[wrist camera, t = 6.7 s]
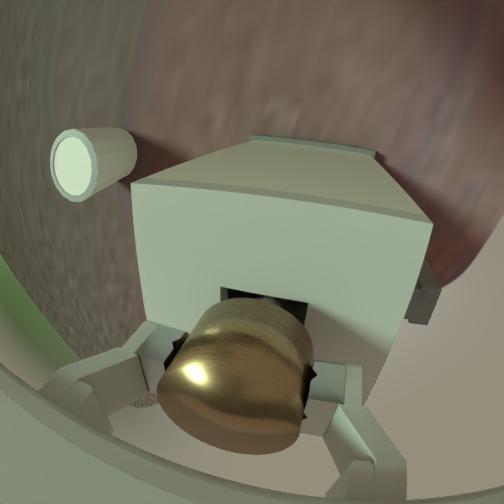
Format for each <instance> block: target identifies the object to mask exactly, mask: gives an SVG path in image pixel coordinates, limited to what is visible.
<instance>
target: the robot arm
mask: <svg viewBox="0 0 504 504" xmlns="http://www.w3.org/2000/svg"><path fill="white" fill-rule="evenodd" d="M188 336H189V333H188V332H186V331H183V330H179V329H176V328H173V327H169V326H166V325H163V324H159V323H156V322H153V321H150V320H147V321H145V322H143V324H142V325H141V326H140V327H139V328H138V329H137V331H136V332H135V333H134V334H133V335H132V336H131V337H130V339H129V340H128V341H127V342H126V343H125V344H124V346H123V347H122V348H118V347H117V348H114V349H112V350H109V351H106V352H103V353H101V354H98V355H95V356H92V357H90V358H87V359H84V360H81V361H79V362H76V363H73V364H70V365H67V366H64V367H61V368H59V369H58V371H57V372H56V373H55V374H54V375H53V376H52V377H51V378H50V379H49V380H48V381H47V382H46V383H45V385H44V386H43V387H42V388H41V389H40V390H39V391H37V390H35V389H34V388H32V387H31V386H30V385H28V384H27V383H26V382H24V381H23V380H22V379H20V378H19V377H18V376H16V375H15V374H14V373H13V372H11V371H10V370H9V369H7V368H6V367H5V366H4V365H3V364H1V363H0V504H504V486H500V487H495V488H491V489H487V490H482V491H477V492H472V493H466V494H460V495H453V496H446V497H438V498H427V499H414V500H406V497H407V494H406V493H407V468H406V460H405V459H404V458H403V456H402V455H401V454H400V452H399V451H398V449H397V448H396V447H395V445H394V444H393V442H392V441H391V440H390V438H389V437H388V436H387V434H386V433H385V431H384V430H383V429H382V427H381V426H380V425H379V423H378V422H377V421H376V419H375V418H374V416H373V415H372V414H371V412H370V411H369V409H368V408H367V407H362V403H363V384H362V367H361V366H359V365H351V364H343V363H335V362H328V361H322V360H315V359H314V360H313V363H312V367H311V373H310V379H309V386H308V391H307V396H306V402H305V407H304V413H303V419H302V424H301V429H300V433H305V434H310V435H316V436H322V437H323V439H324V441H325V443H326V445H327V447H328V450H329V452H330V454H331V456H332V458H333V460H334V462H335V465H336V467H337V469H338V471H339V473H340V475H341V476H340V477H339V478H338V479H337V481H336V482H335V483H334V484H333V485H332V486H331V488H330V489H329V490H328V491H327V492H326V496H325V498H321V497H314V496H306V495H298V494H292V493H286V492H280V491H274V490H270V489H264V488H260V487H255V486H251V485H247V484H242V483H238V482H234V481H231V480H227V479H223V478H219V477H216V476H213V475H210V474H206V473H203V472H200V471H197V470H194V469H191V468H188V467H185V466H182V465H179V464H177V463H174V462H172V461H169V460H166V459H164V458H161V457H159V456H156V455H154V454H151V453H149V452H146V451H144V450H142V449H140V448H137V447H135V446H133V445H131V444H129V443H127V442H124V441H122V440H120V439H118V438H116V437H114V436H112V435H111V434H112V433H113V428H112V426H111V424H110V422H109V420H108V418H107V416H109V415H111V414H113V413H114V412H116V411H118V410H120V409H122V408H124V407H125V406H127V405H129V404H131V403H133V402H134V401H136V400H138V399H140V398H141V397H143V396H145V395H146V394H148V392H150V393H153V394H156V395H157V385H158V382H159V380H160V379H161V377H162V376H163V374H164V373H165V371H166V370H167V368H168V367H169V365H170V363H171V362H172V360H173V359H174V357H175V356H176V354H177V353H178V351H179V350H180V348H181V347H182V345H183V344H184V342H185V341H186V339H187V338H188Z"/></svg>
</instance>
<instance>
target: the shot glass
mask: <svg viewBox="0 0 504 504" xmlns="http://www.w3.org/2000/svg"><path fill="white" fill-rule="evenodd" d="M136 160H137V146H136V144H135V141H134V139H133V137H132V136H131V135H130V134H129V133H128V131H126V130H124V129H121V128H84V129H71V130H65V131H64V132H62V133H61V134H60V135H59V136H58V137H57V138H56V140H55V142H54V144H53V147H52V150H51V156H50V167H51V175H52V178H53V180H54V183H55V186H56V187H57V189H58V190H59V191H60V193H61V194H62V195H63V196H64V197H65V198H67V199H68V200H70V201H72V202H82V201H83V200H85V199H87V198H88V197H90V196H92V195H93V194H95V193H97V192H98V191H100V190H102V189H104V188H105V187H107V186H109V185H111V184H112V183H114V182H116V181H118V180H120V179H121V178H123V177H125V176H127V175H129V174H130V173H131V171H132V170H133V169H134V167H135V164H136Z"/></svg>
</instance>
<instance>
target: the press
mask: <svg viewBox="0 0 504 504" xmlns="http://www.w3.org/2000/svg"><path fill="white" fill-rule="evenodd" d="M375 152H376V151H375V150H372V149H366V148H361V147H355V146H349V145H342V144H336V143H329V142H322V141H314V140H306V139H297V138H288V137H278V136H267V135H254V134H252V135H249V142H246V143H242V144H239V145H236V146H232V147H229V148H226V149H223V150H220V151H217V152H214V153H211V154H208V155H205V156H202V157H199V158H196V159H193V160H190V161H187V162H184V163H182V164H179V165H176V166H173V167H171V168H168V169H165V170H163V171H160V172H158V173H155V174H152V175H150V176H147V177H145V178H142V179H140V180H137V181H135V182H132V183H131V196H132V209H133V221H134V232H135V241H136V250H137V258H138V266H139V274H140V281H141V287H142V294H143V300H144V306H145V312H146V318H147V320H150V321H153V322H156V323H159V324H163V325H166V326H169V327H173V328H176V329H179V330H183V331H186V332H188V333H189V334H190V333H191V331H192V330H193V328H194V327H195V325H196V324H197V322H198V321H199V319H200V318H201V316H202V315H203V313H204V312H205V311H206V310H207V309H208V308H210V307H211V306H212V305H214V304H216V303H218V302H221V301H223V300H227V299H232V298H252V299H256V297H257V295H258V294H262V295H267V296H272V297H278V298H283V299H287V300H286V304H285V307H284V310H286V311H287V312H289V313H290V314H292V315H293V316H294V317H296V318H297V319H298V320H299V321H300V322H301V323H302V325H303V326H304V327H305V328H306V330H307V332H308V333H309V335H310V337H311V340H312V343H313V349H314V355H313V360H314V359H315V360H322V361H328V362H335V363H343V364H351V365H359V366H361V367H362V384H363V403H362V407H363V405H364V403H365V402H366V400H367V398H368V396H369V394H370V392H371V390H372V388H373V386H374V384H375V382H376V380H377V378H378V376H379V374H380V371H381V369H382V367H383V365H384V363H385V361H386V358H387V356H388V354H389V352H390V350H391V347H392V345H393V343H394V340H395V338H396V336H397V333H398V330H399V328H400V326H401V323H402V321H403V319H408V321H409V323H415V324H422V325H427V324H428V322H429V319H430V317H431V315H432V312H433V310H434V308H435V305H436V302H437V300H438V298H439V295H440V292H441V288H440V286H439V284H438V282H437V280H436V278H435V276H434V274H433V272H432V270H431V268H430V266H429V264H428V263H427V261H426V259H425V254H426V250H427V247H428V243H429V239H430V236H431V232H432V228H433V223H432V222H431V221H430V220H429V218H428V217H427V216H426V215H425V214H424V212H423V211H422V210H421V209H420V208H419V207H418V205H417V204H416V203H415V202H414V201H413V200H412V199H411V197H410V196H409V195H408V194H407V193H406V192H405V191H404V190H403V189H402V187H401V186H400V185H399V184H398V183H397V182H396V181H395V180H394V179H393V178H392V177H391V176H390V175H389V174H388V172H387V171H386V170H385V169H384V168H383V167H382V166H381V165H380V164H379V163H378V162H377V161H376V160H375ZM312 363H313V361H312Z"/></svg>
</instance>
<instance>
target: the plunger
mask: <svg viewBox="0 0 504 504" xmlns="http://www.w3.org/2000/svg"><path fill="white" fill-rule="evenodd" d="M286 300H287V299H283V298H278V297H272V296H267V295H262V294H258V295H257V297H256V299H252V298H232V299H227V300H223V301H221V302H218V303H216V304H214V305H212V306H211V307H210V308H208V309H207V310H206V311H205V312H204V313H203V315H202V316H201V318H200V319H199V321H198V322H197V324H196V325H195V327H194V328H193V330H192V331H191V333H190V334H189V336H188V338H187V339H186V341H185V342H184V344H183V345H182V347H181V348H180V350H179V351H178V353H177V354H176V356H175V357H174V359H173V360H172V362H171V363H170V365H169V367H168V368H167V370H166V371H165V373H164V374H163V376H162V377H161V379H160V380H159V382H158V385H157V398H158V401H159V403H160V405H161V407H162V408H163V410H164V411H165V413H166V414H167V415H168V417H169V418H170V419H171V420H172V421H173V422H174V423H175V424H176V425H178V426H179V427H180V428H181V429H183V430H184V431H185V432H187V433H188V434H190V435H191V436H193V437H195V438H196V439H199V440H200V441H202V442H204V443H207V444H209V445H211V446H214V447H217V448H220V449H223V450H226V451H231V452H235V453H241V454H252V455H260V454H271V453H275V452H279V451H282V450H284V449H286V448H288V447H290V446H291V445H292V444H294V442H295V441H296V440H297V438H298V437H299V433H300V429H301V424H302V419H303V413H304V407H305V402H306V396H307V391H308V386H309V379H310V373H311V367H312V361H313V355H314V349H313V343H312V340H311V337H310V335H309V333H308V332H307V330H306V328H305V327H304V326H303V325H302V323H301V322H300V321H299V320H298V319H297V318H296V317H294V316H293V315H292V314H290V313H289V312H287V311H286V310H284V307H285V304H286Z"/></svg>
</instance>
